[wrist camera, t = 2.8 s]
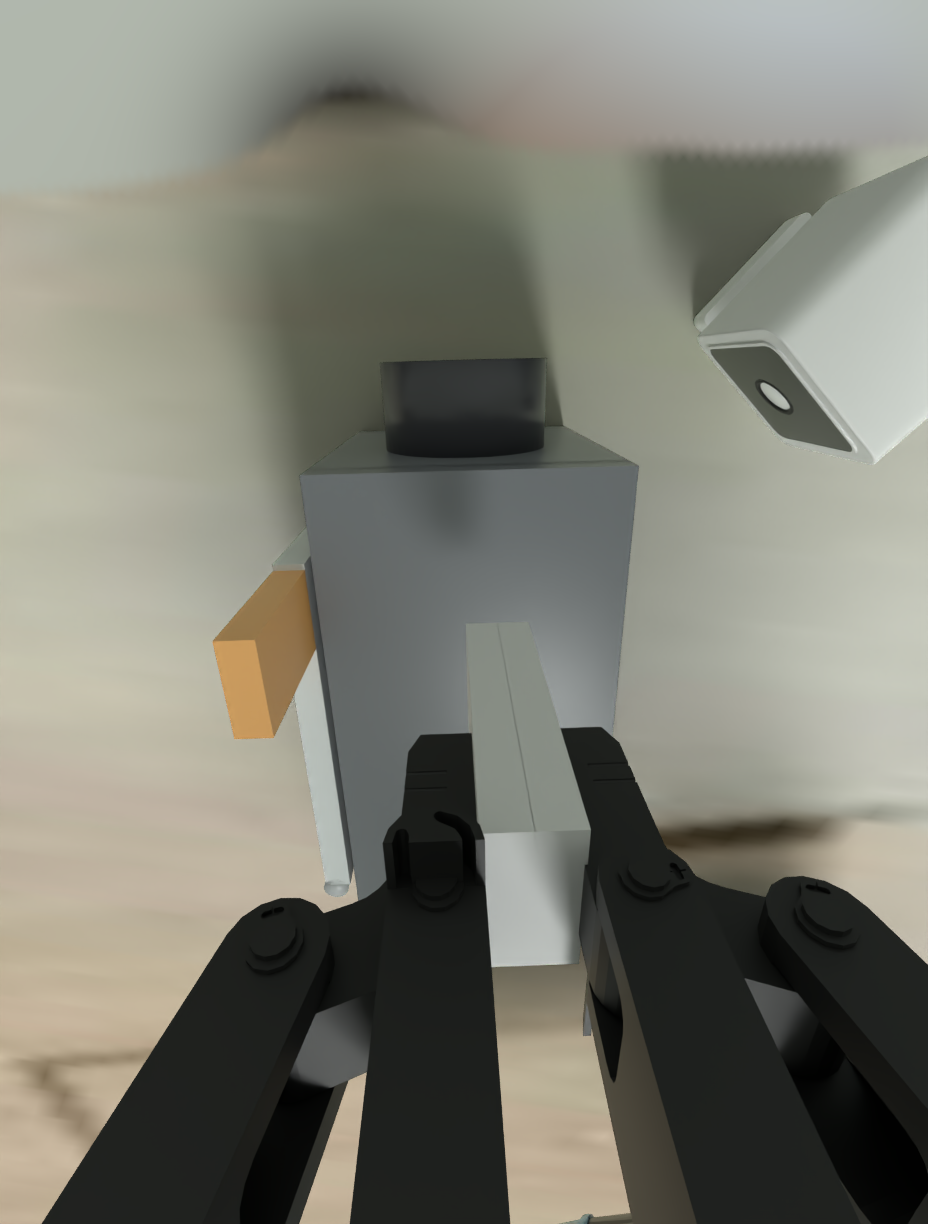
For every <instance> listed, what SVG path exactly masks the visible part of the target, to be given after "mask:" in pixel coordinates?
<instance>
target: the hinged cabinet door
mask: <svg viewBox="0 0 928 1224" xmlns="http://www.w3.org/2000/svg"><path fill="white" fill-rule="evenodd" d="M272 567H273V572H272V573H271V574H270V575H269V577H268V578H267V579H266V580H265V581H264V582H263V583H262V585H261V586H260V587H259V588H258V589H257V590H256V592H255V593H254V594H253V595H252V596H251V597H250V599H249V600H248V601H247V602H246V603H245V604H244V605H243V607H242V608H241V609H240V610H239V611H238V612H237V614H236V615H235V616H234V617H233V618H232V619H231V621H230V622H229V623H228V624H227V625H226V626H225V627H224V629H223V630H222V631H221V632H220V633H219V634H218V636H217V637H216V638H215V639H214V640H213V646H214V650H215V655H216V659H217V664H218V668H219V672H220V677H221V681H222V686H223V690H224V695H225V699H226V703H227V708H228V712H229V717H230V721H231V726H232V730H233V734H234V739H253V738H274V736H275V734H276V732H277V730H278V728H279V726H280V723H281V721H282V719H283V717H284V715H285V713H286V711H287V709H288V707H289V705H290V702H291V700H292V698H293V696H294V697H295V703H296V709H297V715H298V721H299V727H300V733H301V739H302V745H303V751H304V757H305V763H306V769H307V775H308V781H309V786H310V792H311V798H312V804H313V810H314V816H315V822H316V828H317V834H318V840H319V846H320V852H321V858H322V864H323V870H324V876H325V881H326V882H325V886H324V889H325V892H326V893H327V894H329V895H331V896H334V897H340V896H343V895H345V894H346V893H347V892H348V889H349V884H350V883H351V878H352V872H353V867H354V865H353V858H352V850H351V843H350V836H349V829H348V822H347V814H346V807H345V800H344V793H343V786H342V778H341V771H340V764H339V757H338V750H337V742H336V735H335V728H334V721H333V714H332V706H331V699H330V692H329V685H328V678H327V670H326V663H325V656H324V649H323V642H322V634H321V627H320V620H319V613H318V606H317V598H316V591H315V584H314V577H313V570H312V562H311V555H310V548H309V541H308V534H307V527H306V528H305V529H304V530H303V531H302V532H301V533H300V535H299V536H298V537H297V538H296V539H295V540H294V541H293V542H292V544H291V545H290V546H289V547H288V548H287V549H286V550H285V551H284V552H283V554H282V555H281V556H280V557H279V558H278V559H277V560H276V561H275V563H274V564H273V565H272Z"/></svg>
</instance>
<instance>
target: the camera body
mask: <svg viewBox="0 0 928 1224" xmlns="http://www.w3.org/2000/svg"><path fill="white" fill-rule="evenodd" d="M546 369H547V358H522V359H477V360H440V361H408V362H383V363H380V371H381V384H382V397H383V410H384V423H385V431H366V432H358V433H357V434H356V435H354V436H353V437H352V438H350V439H349V440H347V441H346V442H345V443H343V444H342V445H341V446H339V447H338V448H336V449H335V450H334V451H332V452H331V453H330V454H328V455H327V456H325V457H324V458H323V459H321V460H320V461H319V462H317V463H316V464H314V465H313V466H312V467H310V468H309V469H307V470H306V471H305V472H303V473H302V474H301V475H299V476H300V483H301V490H302V498H303V505H304V512H305V519H306V526H307V534H308V541H309V548H310V555H311V562H312V570H313V577H314V584H315V591H316V598H317V606H318V613H319V620H320V627H321V634H322V642H323V649H324V656H325V663H326V670H327V678H328V685H329V692H330V699H331V706H332V714H333V721H334V728H335V735H336V742H337V750H338V757H339V764H340V771H341V778H342V786H343V793H344V800H345V807H346V814H347V822H348V829H349V836H350V843H351V850H352V858H353V865H354V872H355V879H356V886H357V894H358V901H359V900H361V899H364V898H366V897H367V896H369V895H370V894H372V893H373V892H374V891H376V890H377V889H379V888H380V886H381V885H382V884H383V883H384V882H385V881H386V871H385V862H384V853H383V844H382V843H383V841H384V838H385V836H386V833H387V830H388V828H389V827H390V826H391V825H392V824H393V823H394V822H395V821H396V820H397V819H398V818H399V817H400V816H401V815H402V806H403V796H404V787H405V777H406V768H407V758H408V751H409V750H410V749H411V747H412V746H413V745H414V743H415V742H416V740H417V739H418V738H419V736H420V735H426V734H455V733H469V723H468V687H467V647H466V624H473V623H505V622H529V626H530V629H531V632H532V636H533V639H534V642H535V646H536V649H537V652H538V656H539V659H540V662H541V666H542V669H543V672H544V676H545V679H546V682H547V686H548V689H549V692H550V695H551V699H552V702H553V705H554V709H555V712H556V715H557V719H558V722H559V725H560V728H578V727H602V728H603V729H604V730H606V731H607V732H608V733H609V734H610V735H611V736H613V725H614V715H615V705H616V695H617V684H618V674H619V664H620V654H621V643H622V633H623V623H624V612H625V602H626V592H627V582H628V571H629V561H630V551H631V541H632V530H633V520H634V510H635V500H636V489H637V479H638V469H639V466H638V465H637V464H635V463H633V462H631V461H629V460H627V459H625V458H623V457H621V456H620V455H618V454H616V453H614V452H612V451H610V450H608V449H606V448H604V447H603V446H601V445H599V444H597V443H595V442H593V441H591V440H589V439H588V438H586V437H584V436H582V435H580V434H578V433H576V432H574V431H572V430H571V429H569V428H567V427H565V426H547V427H545V401H546Z"/></svg>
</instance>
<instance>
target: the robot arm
mask: <svg viewBox="0 0 928 1224" xmlns="http://www.w3.org/2000/svg"><path fill="white" fill-rule="evenodd" d="M466 647H467V687H468V723H469V733H455V734H426V735H420V736H419V738H418V739H417V740H416V742H415V743H414V745H413V746H412V747H411V749H410V750H409V751H408V758H407V768H406V777H405V787H404V796H403V806H402V815H401V816H400V817H399V818H398V819H397V820H396V821H395V822H394V823H393V824H392V825H391V826H390V827H389V828H388V830H387V833H386V836H385V838H384V841H383V843H382V844H383V853H384V862H385V871H386V881H385V882H384V883H383V884H382V885H381V886H380V888H379V889H377V890H376V891H374V892H373V893H372V894H370V895H369V896H367V897H366V898H364V899H361V900H359V901H357V902H355V903H353V904H350V905H347V906H344V907H341V908H338V909H335V910H332V911H329V912H326V913H323V912H322V911H321V910H320V909H319V907H318V906H317V905H316V904H313V903H311V902H309V901H306V900H304V899H301V898H280V899H277V900H274V901H271V902H268V903H265V904H262V905H260V906H258V907H257V908H255V909H254V910H252V911H251V912H249V913H248V914H246V915H245V916H243V917H242V918H241V919H240V920H239V921H238V922H237V924H236V925H235V926H234V927H233V928H232V929H231V930H230V932H229V933H228V934H227V935H226V937H225V938H224V940H223V942H222V943H221V945H220V946H219V948H218V949H217V951H216V953H215V954H214V956H213V957H212V959H211V960H210V962H209V963H208V965H207V967H206V968H205V970H204V971H203V973H202V974H201V976H200V977H199V979H198V981H197V982H196V984H195V985H194V987H193V988H192V990H191V992H190V993H189V995H188V996H187V998H186V999H185V1001H184V1002H183V1004H182V1006H181V1007H180V1009H179V1010H178V1012H177V1013H176V1015H175V1017H174V1018H173V1020H172V1021H171V1023H170V1024H169V1026H168V1027H167V1029H166V1031H165V1032H164V1034H163V1035H162V1037H161V1038H160V1040H159V1041H158V1043H157V1045H156V1046H155V1048H154V1049H153V1051H152V1052H151V1054H150V1056H149V1057H148V1059H147V1060H146V1062H145V1063H144V1065H143V1066H142V1068H141V1070H140V1071H139V1073H138V1074H137V1076H136V1077H135V1079H134V1081H133V1082H132V1084H131V1085H130V1087H129V1088H128V1090H127V1091H126V1093H125V1095H124V1096H123V1098H122V1099H121V1101H120V1102H119V1104H118V1105H117V1107H116V1109H115V1110H114V1112H113V1113H112V1115H111V1116H110V1118H109V1120H108V1121H107V1123H106V1124H105V1126H104V1127H103V1129H102V1130H101V1132H100V1134H99V1135H98V1137H97V1138H96V1140H95V1141H94V1143H93V1145H92V1146H91V1148H90V1149H89V1151H88V1152H87V1154H86V1155H85V1157H84V1159H83V1160H82V1162H81V1163H80V1165H79V1166H78V1168H77V1169H76V1171H75V1173H74V1174H73V1176H72V1177H71V1179H70V1180H69V1182H68V1184H67V1185H66V1187H65V1188H64V1190H63V1191H62V1193H61V1194H60V1196H59V1198H58V1199H57V1201H56V1202H55V1204H54V1205H53V1207H52V1209H51V1210H50V1212H49V1213H48V1215H47V1216H46V1218H45V1219H44V1221H43V1223H42V1224H299V1222H300V1219H301V1217H302V1214H303V1211H304V1208H305V1205H306V1202H307V1199H308V1196H309V1193H310V1190H311V1187H312V1185H313V1182H314V1179H315V1176H316V1173H317V1170H318V1167H319V1164H320V1161H321V1158H322V1156H323V1153H324V1150H325V1147H326V1144H327V1141H328V1138H329V1135H330V1132H331V1129H332V1127H333V1124H334V1121H335V1118H336V1115H337V1112H338V1109H339V1106H340V1103H341V1100H342V1097H343V1095H344V1092H345V1089H346V1086H347V1083H348V1080H350V1079H352V1078H354V1077H357V1076H359V1075H361V1074H364V1073H366V1072H367V1076H366V1085H365V1093H364V1102H363V1111H362V1120H361V1129H360V1138H359V1147H358V1155H357V1164H356V1173H355V1182H354V1191H353V1200H352V1209H351V1218H350V1224H510V1215H509V1201H508V1187H507V1173H506V1159H505V1146H504V1132H503V1118H502V1104H501V1091H500V1077H499V1063H498V1049H497V1036H496V1022H495V1008H494V994H493V980H492V967H508V966H534V965H559V964H579V957H580V946H582V951H583V955H584V960H585V964H586V969H587V973H588V974H587V984H586V994H585V1004H584V1014H583V1036H591V1029H592V1032H593V1036H594V1041H595V1046H596V1051H597V1055H598V1060H599V1065H600V1070H601V1074H602V1079H603V1084H604V1089H605V1093H606V1098H607V1103H608V1108H609V1112H610V1117H611V1122H612V1127H613V1131H614V1136H615V1141H616V1146H617V1150H618V1155H619V1160H620V1165H621V1169H622V1174H623V1179H624V1184H625V1188H626V1193H627V1198H628V1203H629V1207H630V1212H631V1213H626V1214H618V1215H611V1216H603V1217H593V1215H592V1214H585V1215H583V1216H582V1217H581V1219H579V1220H575V1221H570V1222H565V1223H561V1224H928V965H927V964H926V963H925V962H924V961H923V960H922V959H921V958H920V957H919V956H918V955H917V954H916V953H915V952H914V951H913V950H912V949H911V948H910V947H909V946H908V945H907V944H905V943H904V942H903V941H902V940H901V939H900V938H899V937H898V936H897V935H896V934H895V933H894V932H893V931H892V930H891V929H890V928H889V927H888V926H887V925H886V924H885V923H884V922H882V921H881V920H880V919H879V918H878V917H877V916H876V915H875V914H874V913H873V912H872V911H871V910H870V909H869V908H868V907H867V906H865V905H864V904H863V903H861V902H860V901H859V900H857V899H856V898H855V897H854V896H852V895H851V894H850V893H848V892H847V891H845V890H843V889H840V888H838V887H836V886H834V885H832V884H830V883H828V882H826V881H822V880H818V879H814V878H809V877H805V876H798V877H784V878H783V879H781V880H779V881H777V882H776V883H774V884H772V885H771V887H770V889H769V891H768V893H767V896H766V897H762V896H758V895H754V894H749V893H745V892H741V891H737V890H732V889H728V888H724V887H721V886H718V885H715V884H712V883H709V882H707V881H705V880H703V879H701V878H699V877H697V876H695V874H694V873H693V871H692V870H691V869H690V867H689V866H688V864H687V863H686V862H685V861H684V860H682V859H681V858H680V857H678V856H677V855H676V854H674V853H673V852H672V851H671V850H668V849H667V848H666V846H665V845H664V843H663V840H662V838H661V836H660V834H659V831H658V829H657V827H656V825H655V822H654V820H653V818H652V816H651V813H650V811H649V809H648V807H647V804H646V802H645V800H644V798H643V795H642V793H641V791H640V788H639V786H638V784H637V782H635V777H634V775H633V773H632V770H631V768H630V766H628V761H627V759H626V757H625V755H624V752H623V750H622V748H621V746H620V743H619V742H618V741H617V740H616V739H614V738H613V737H612V736H611V735H610V734H609V733H608V732H607V731H606V730H604V729H603V728H602V727H578V728H560V725H559V722H558V719H557V715H556V712H555V709H554V705H553V702H552V699H551V695H550V692H549V689H548V686H547V682H546V679H545V676H544V672H543V669H542V666H541V662H540V659H539V656H538V652H537V649H536V646H535V642H534V639H533V636H532V632H531V629H530V626H529V622H505V623H473V624H466Z"/></svg>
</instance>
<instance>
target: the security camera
mask: <svg viewBox="0 0 928 1224" xmlns="http://www.w3.org/2000/svg"><path fill="white" fill-rule="evenodd" d="M694 325H695V326H696V328H697V329H698V330H699V331H700V334H699V335H698V338H697V340H698V343H699V345H700V347H701V348H702V349H703V351H704V352H705V353H706V354H707V356H708V357H709V358H710V359H711V360H712V361H713V363H714V364H715V365H716V366H717V367H718V369H719V370H720V371H721V372H722V373H723V375H724V376H725V377H726V378H727V379H728V380H729V382H730V383H731V384H732V385H733V386H734V388H735V389H736V390H737V391H738V392H739V394H740V395H741V396H742V397H743V398H744V400H745V401H746V402H747V403H748V404H749V405H750V407H751V408H752V409H753V410H754V411H755V413H756V414H757V415H758V416H759V417H760V419H761V420H762V421H763V422H764V423H765V424H766V426H767V427H768V428H769V429H770V430H771V432H772V433H773V434H774V435H775V436H776V437H777V438H778V439H780V440H781V441H782V442H784V443H785V444H787V445H789V446H792V447H796V448H800V449H805V450H809V451H813V452H817V453H821V454H826V455H830V456H834V457H838V458H842V459H847V460H851V461H855V462H859V463H863V464H868V465H873V464H875V463H876V462H878V461H879V460H880V459H881V458H882V457H883V456H884V455H886V454H887V453H888V452H889V451H890V450H891V449H893V448H894V447H895V446H896V445H897V444H898V443H899V442H901V441H902V440H903V439H904V438H905V437H906V436H908V435H909V434H910V433H911V432H912V431H913V430H914V429H916V428H917V427H918V426H919V425H920V424H921V423H923V422H924V421H925V420H926V419H927V418H928V156H926V157H924V158H922V159H919V160H917V161H915V162H913V163H910V164H908V165H906V166H903V167H901V168H899V169H897V170H894V171H892V172H890V173H888V174H885V175H883V176H881V177H878V178H876V179H874V180H872V181H869V182H867V183H865V184H862V185H860V186H858V187H856V188H853V189H851V190H849V191H847V192H844V193H842V194H840V195H837V196H835V197H833V198H831V199H829V200H828V201H827V202H826V203H825V204H824V205H823V206H822V207H821V208H820V209H819V210H818V211H817V212H816V213H815V214H814V215H813V216H811V214H810V213H808V212H805V213H803V214H800V215H798V216H796V217H793V218H791V219H789V220H786V221H785V222H784V223H783V224H782V225H781V226H780V227H779V228H778V230H777V231H776V232H775V233H774V234H773V235H772V236H771V237H770V238H769V239H768V240H767V241H766V242H765V243H764V244H763V245H762V246H761V248H760V249H759V250H758V251H757V252H756V253H755V254H754V255H753V256H752V257H751V258H750V259H749V260H748V261H747V262H746V263H745V265H744V266H743V267H742V268H741V269H740V270H739V271H738V272H737V273H736V274H735V275H734V276H733V277H732V278H731V279H730V280H729V281H728V283H727V284H726V285H725V286H724V287H723V288H722V289H721V290H720V291H719V292H718V293H717V294H716V295H715V296H714V297H713V298H712V299H711V301H710V302H709V303H708V304H707V305H706V306H705V307H704V308H703V309H702V310H701V311H700V312H699V313H698V314H697V315H696V317H695V318H694Z"/></svg>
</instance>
